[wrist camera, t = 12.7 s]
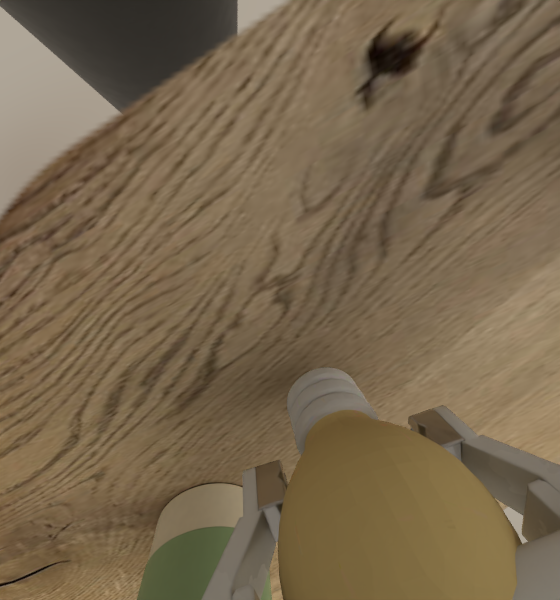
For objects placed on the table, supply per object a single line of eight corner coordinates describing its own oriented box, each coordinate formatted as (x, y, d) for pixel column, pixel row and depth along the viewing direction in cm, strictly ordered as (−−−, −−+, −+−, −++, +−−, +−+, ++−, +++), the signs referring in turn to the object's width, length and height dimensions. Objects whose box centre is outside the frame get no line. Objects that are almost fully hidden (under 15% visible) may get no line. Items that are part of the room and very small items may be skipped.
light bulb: (234, 403, 13) (224, 851, 4) (319, 313, 12) (565, 616, 3) (318, 454, 15) (443, 829, 6) (396, 380, 14) (684, 683, 5)
